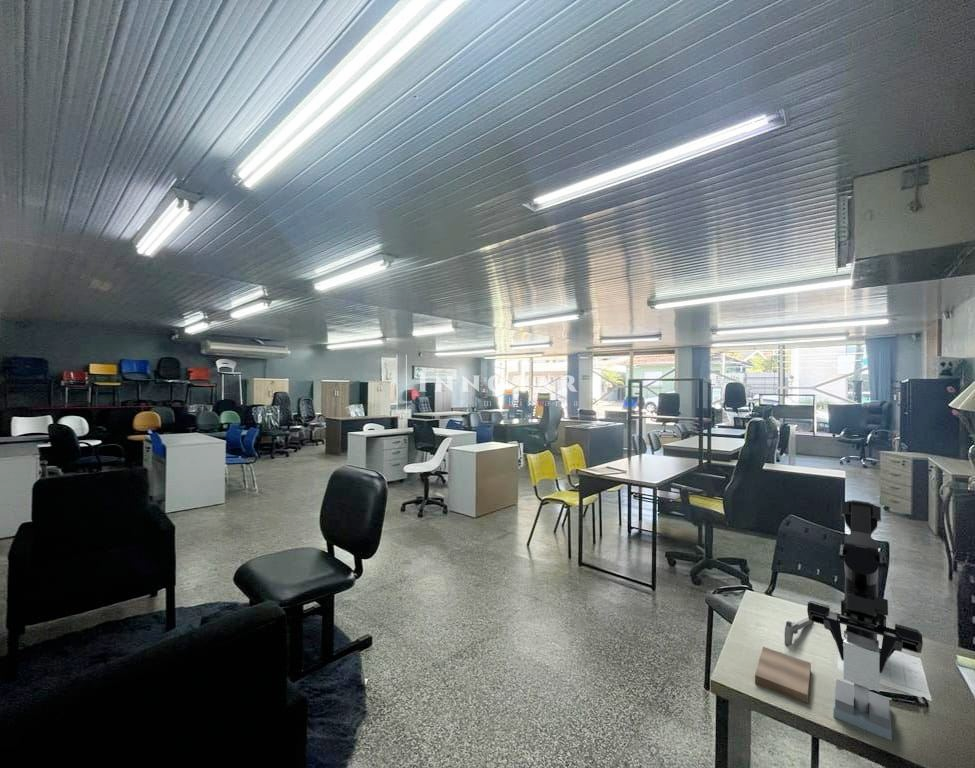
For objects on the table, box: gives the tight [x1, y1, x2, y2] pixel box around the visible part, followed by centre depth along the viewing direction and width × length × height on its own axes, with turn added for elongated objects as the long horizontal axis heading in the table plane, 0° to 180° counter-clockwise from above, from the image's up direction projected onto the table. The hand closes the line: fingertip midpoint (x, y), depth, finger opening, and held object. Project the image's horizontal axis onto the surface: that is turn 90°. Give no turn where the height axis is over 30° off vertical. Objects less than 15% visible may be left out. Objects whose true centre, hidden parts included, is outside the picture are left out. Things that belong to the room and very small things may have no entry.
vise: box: [832, 679, 893, 741], centre depth 91 cm, size 11×9×7 cm
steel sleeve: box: [843, 629, 881, 693], centre depth 89 cm, size 6×6×8 cm
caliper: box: [784, 616, 813, 647], centre depth 120 cm, size 20×1×6 cm, turn 127°
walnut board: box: [754, 646, 812, 704], centre depth 102 cm, size 14×10×2 cm
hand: (861, 666), depth 88 cm, fingers closed on steel sleeve, 6 cm apart
